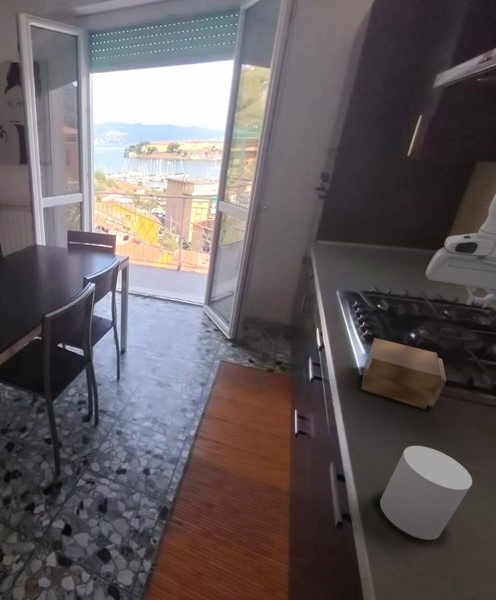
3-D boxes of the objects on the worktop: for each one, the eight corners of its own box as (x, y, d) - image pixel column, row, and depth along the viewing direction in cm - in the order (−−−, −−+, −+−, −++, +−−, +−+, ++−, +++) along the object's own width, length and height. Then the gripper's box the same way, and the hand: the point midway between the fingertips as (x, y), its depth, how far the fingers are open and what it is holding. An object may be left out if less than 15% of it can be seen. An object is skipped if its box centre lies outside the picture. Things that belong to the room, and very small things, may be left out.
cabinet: (422, 384, 92) (436, 353, 88) (425, 409, 84) (441, 376, 80) (363, 367, 99) (374, 337, 95) (361, 389, 91) (372, 357, 87)
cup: (454, 539, 57) (488, 489, 52) (403, 539, 58) (432, 489, 52) (414, 493, 65) (440, 445, 60) (369, 493, 65) (391, 445, 60)
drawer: (436, 385, 90) (448, 360, 87) (440, 409, 83) (454, 382, 79) (374, 368, 97) (384, 344, 94) (373, 388, 90) (383, 363, 86)
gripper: (574, 250, 70) (540, 311, 76) (437, 236, 82) (416, 291, 88) (587, 258, 66) (549, 323, 72) (440, 242, 77) (417, 300, 83)
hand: (475, 305), depth 80 cm, fingers closed
